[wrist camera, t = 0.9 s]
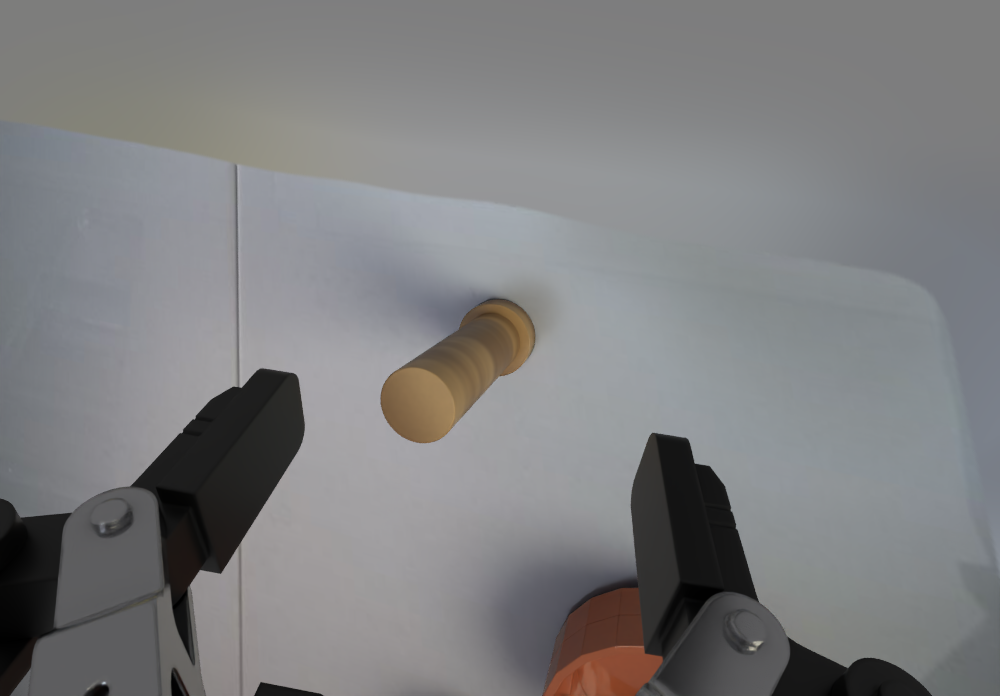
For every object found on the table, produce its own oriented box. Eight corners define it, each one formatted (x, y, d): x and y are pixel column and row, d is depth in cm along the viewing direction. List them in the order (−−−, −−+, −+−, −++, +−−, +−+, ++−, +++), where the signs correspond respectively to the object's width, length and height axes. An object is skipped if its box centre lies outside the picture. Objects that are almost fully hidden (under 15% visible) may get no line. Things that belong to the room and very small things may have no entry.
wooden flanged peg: (510, 285, 34) (428, 334, 22) (548, 348, 35) (488, 429, 23) (453, 321, 36) (349, 383, 24) (490, 380, 37) (405, 471, 25)
